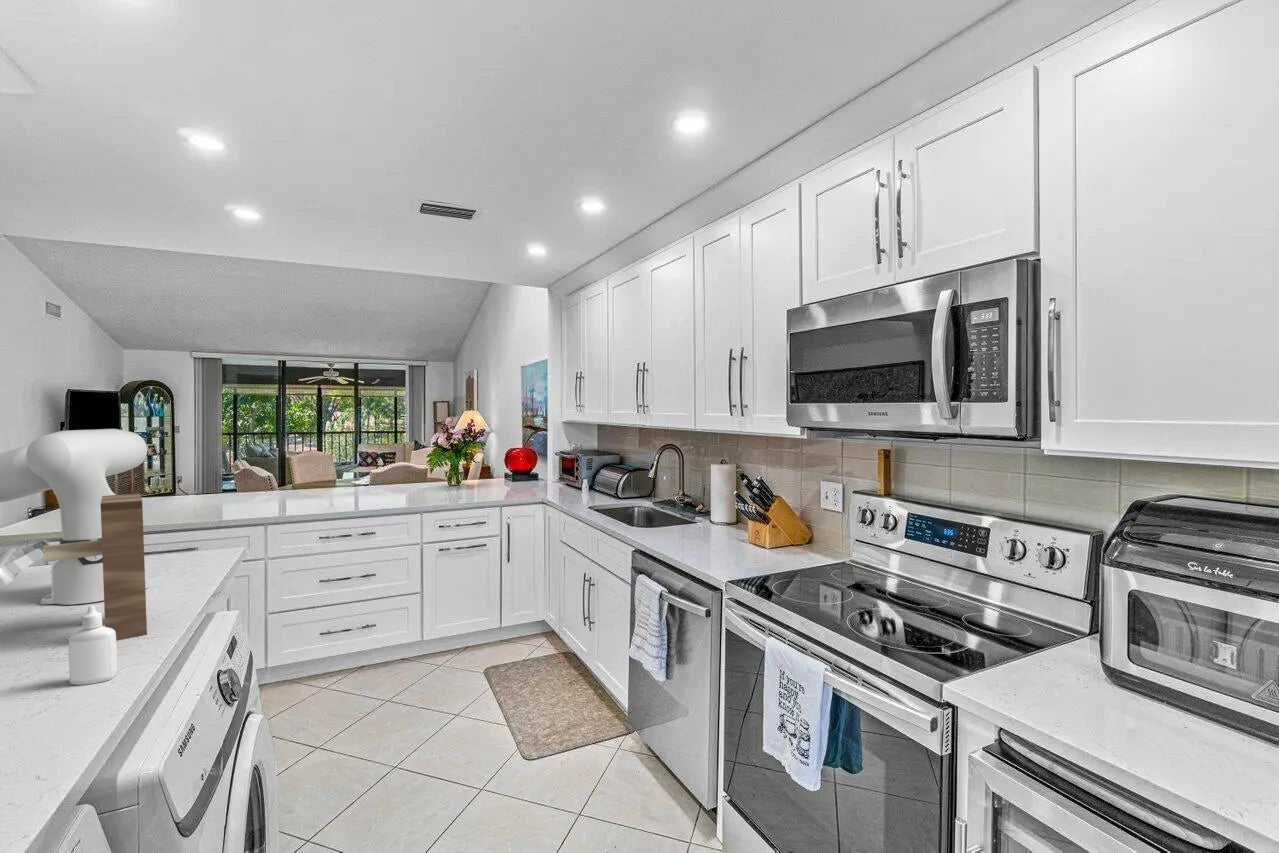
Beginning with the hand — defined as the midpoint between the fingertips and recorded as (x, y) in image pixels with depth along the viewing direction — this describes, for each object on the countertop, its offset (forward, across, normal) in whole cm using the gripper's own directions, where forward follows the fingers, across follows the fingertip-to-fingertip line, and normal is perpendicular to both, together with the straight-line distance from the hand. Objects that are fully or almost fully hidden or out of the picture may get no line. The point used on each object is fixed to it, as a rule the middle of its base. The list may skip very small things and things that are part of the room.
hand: (44, 546), depth 113 cm
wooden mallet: (+5, 0, -6) cm, 7 cm away
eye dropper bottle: (-3, +27, -19) cm, 33 cm away
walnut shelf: (+1, 0, -21) cm, 21 cm away
